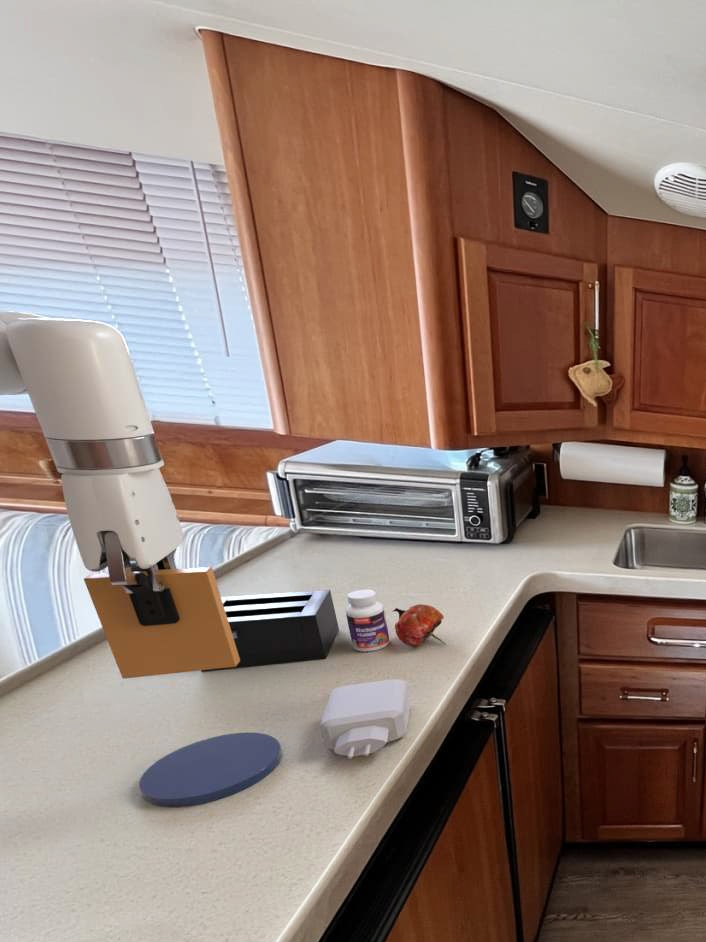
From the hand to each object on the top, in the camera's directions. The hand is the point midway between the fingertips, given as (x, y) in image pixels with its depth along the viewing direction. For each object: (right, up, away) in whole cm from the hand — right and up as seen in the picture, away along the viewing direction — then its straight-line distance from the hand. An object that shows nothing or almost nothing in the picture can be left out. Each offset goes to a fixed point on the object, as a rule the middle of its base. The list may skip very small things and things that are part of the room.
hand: (165, 618), depth 70 cm
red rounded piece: (+4, -6, +42) cm, 42 cm away
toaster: (-17, -6, +35) cm, 40 cm away
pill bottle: (-4, -6, +39) cm, 40 cm away
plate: (-2, -19, +8) cm, 21 cm away
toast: (0, -6, +3) cm, 7 cm away
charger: (+12, -17, +16) cm, 26 cm away
